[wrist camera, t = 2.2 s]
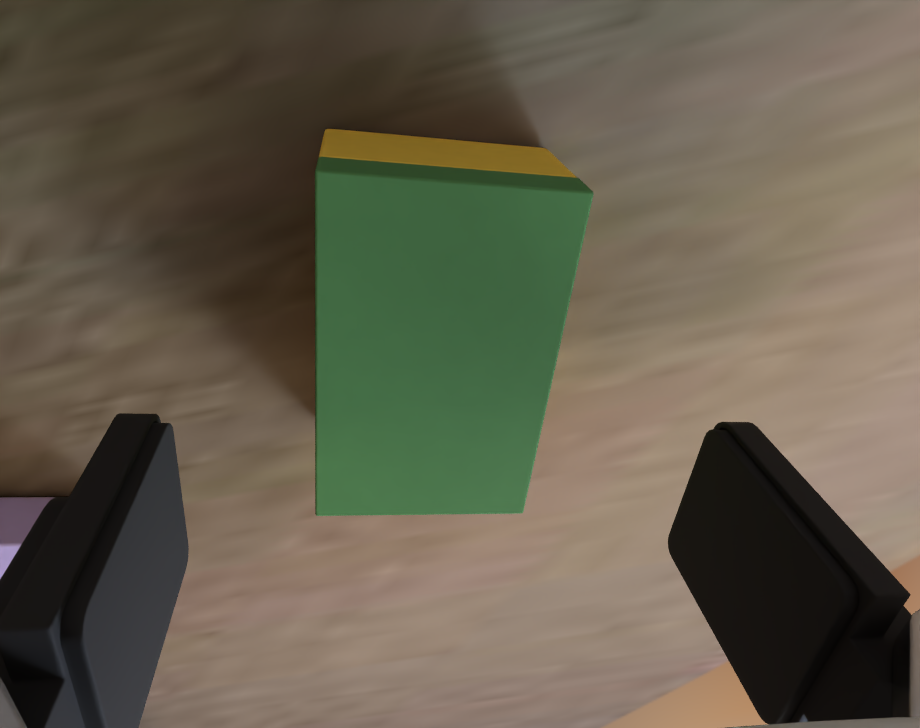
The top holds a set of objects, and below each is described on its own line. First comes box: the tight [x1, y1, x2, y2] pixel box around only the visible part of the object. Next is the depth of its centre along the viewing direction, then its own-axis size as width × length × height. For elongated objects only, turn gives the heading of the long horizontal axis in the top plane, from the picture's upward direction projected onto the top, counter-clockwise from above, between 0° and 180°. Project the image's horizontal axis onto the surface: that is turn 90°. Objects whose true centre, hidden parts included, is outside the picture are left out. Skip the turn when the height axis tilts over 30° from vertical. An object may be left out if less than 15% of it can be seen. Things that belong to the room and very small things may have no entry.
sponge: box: [315, 129, 593, 516], centre depth 15 cm, size 8×5×4 cm, turn 173°
